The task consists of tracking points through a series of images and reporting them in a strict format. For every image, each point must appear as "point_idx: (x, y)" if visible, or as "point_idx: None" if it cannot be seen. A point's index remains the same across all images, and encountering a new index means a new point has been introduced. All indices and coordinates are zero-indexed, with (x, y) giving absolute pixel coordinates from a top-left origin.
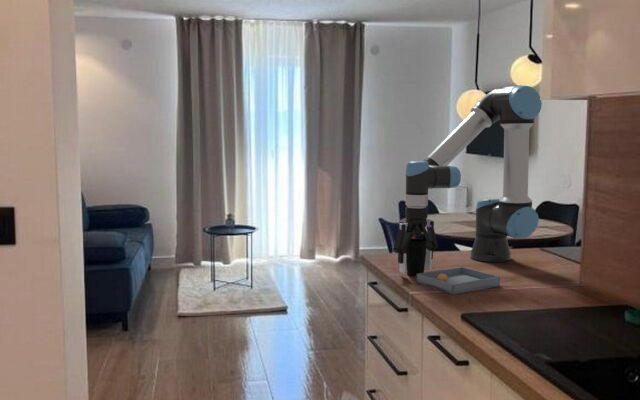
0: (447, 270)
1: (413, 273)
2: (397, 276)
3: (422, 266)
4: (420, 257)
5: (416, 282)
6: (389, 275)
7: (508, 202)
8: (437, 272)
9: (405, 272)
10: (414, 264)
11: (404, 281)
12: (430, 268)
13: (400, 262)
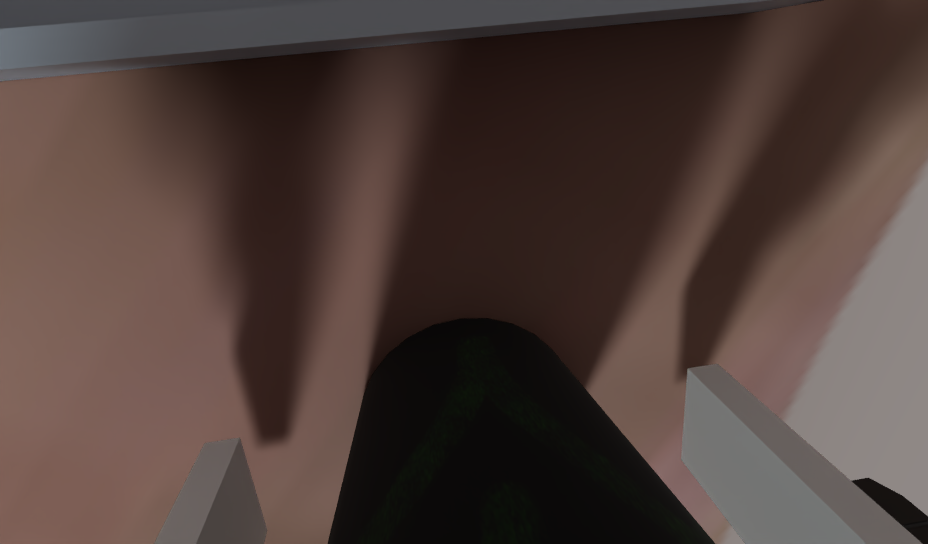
0: (26, 32)
1: (563, 364)
2: None
3: (454, 388)
4: (575, 502)
5: (757, 11)
6: None
7: None
8: (341, 3)
9: (704, 372)
10: (616, 435)
11: (822, 163)
12: (219, 450)
13: (894, 495)
